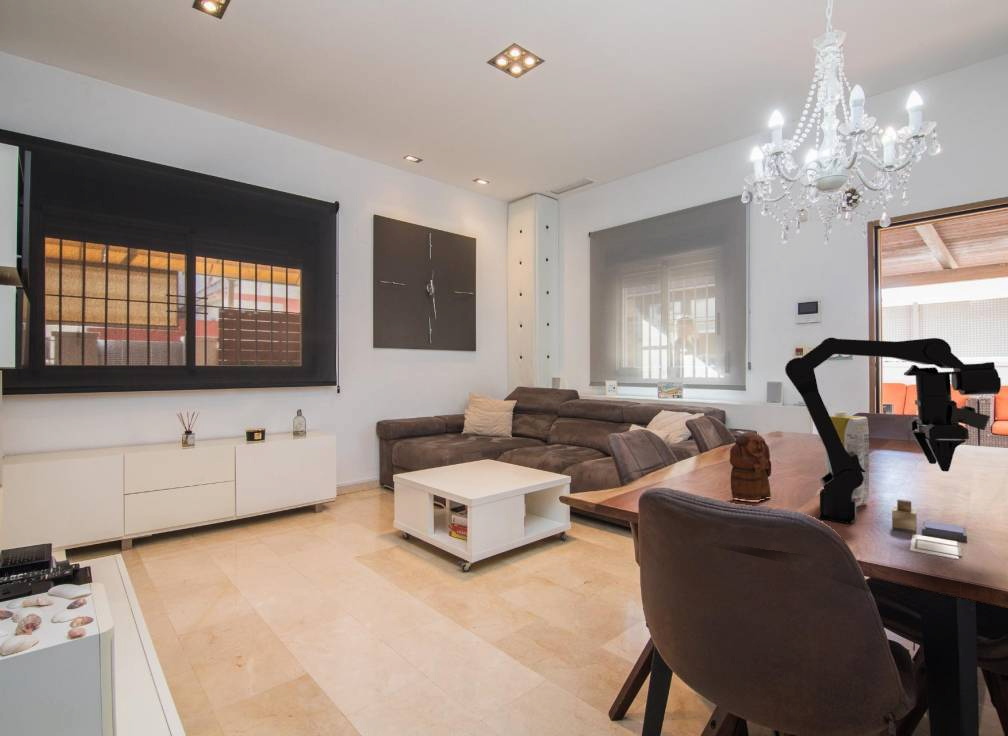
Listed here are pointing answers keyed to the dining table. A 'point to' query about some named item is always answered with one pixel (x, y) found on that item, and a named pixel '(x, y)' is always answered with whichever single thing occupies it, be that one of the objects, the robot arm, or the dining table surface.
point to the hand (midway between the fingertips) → (938, 467)
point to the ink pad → (944, 530)
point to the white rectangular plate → (935, 546)
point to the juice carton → (854, 448)
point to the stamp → (904, 517)
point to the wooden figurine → (750, 467)
